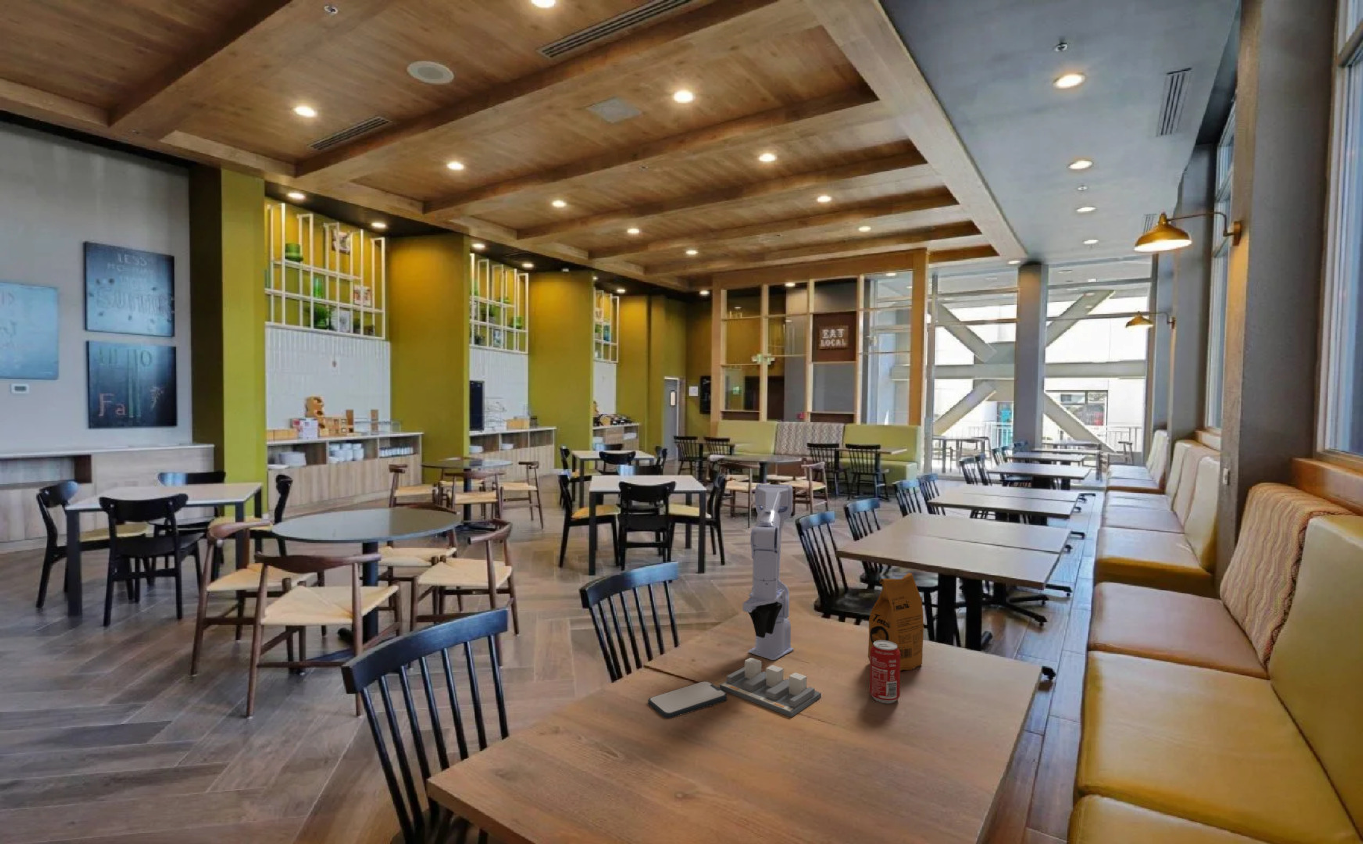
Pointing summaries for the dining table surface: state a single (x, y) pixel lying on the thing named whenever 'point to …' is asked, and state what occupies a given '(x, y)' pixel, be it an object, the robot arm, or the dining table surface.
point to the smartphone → (687, 699)
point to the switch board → (763, 694)
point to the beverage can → (885, 671)
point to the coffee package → (899, 620)
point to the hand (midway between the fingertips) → (764, 634)
